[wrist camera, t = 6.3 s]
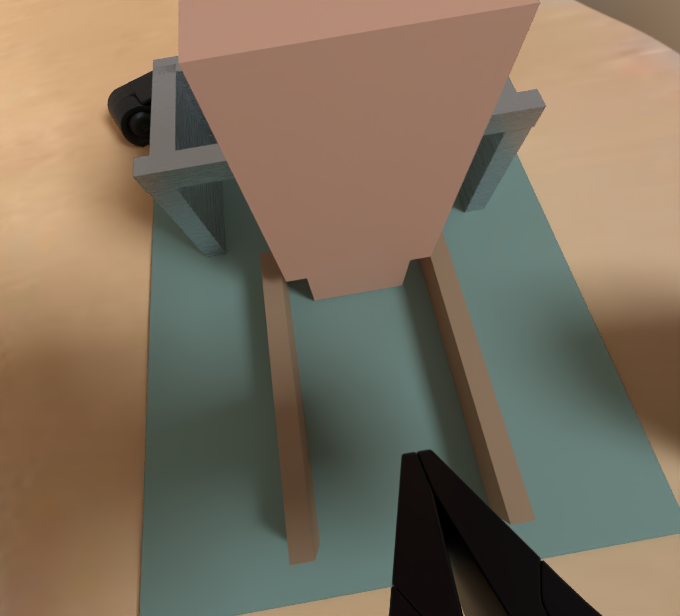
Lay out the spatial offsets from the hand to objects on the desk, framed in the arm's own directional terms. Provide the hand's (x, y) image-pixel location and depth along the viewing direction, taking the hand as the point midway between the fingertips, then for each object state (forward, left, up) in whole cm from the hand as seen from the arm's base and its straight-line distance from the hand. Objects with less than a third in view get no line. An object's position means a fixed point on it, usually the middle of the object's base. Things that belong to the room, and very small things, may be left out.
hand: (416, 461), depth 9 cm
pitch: (+9, 0, -7) cm, 11 cm away
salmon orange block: (+10, 0, -7) cm, 13 cm away
